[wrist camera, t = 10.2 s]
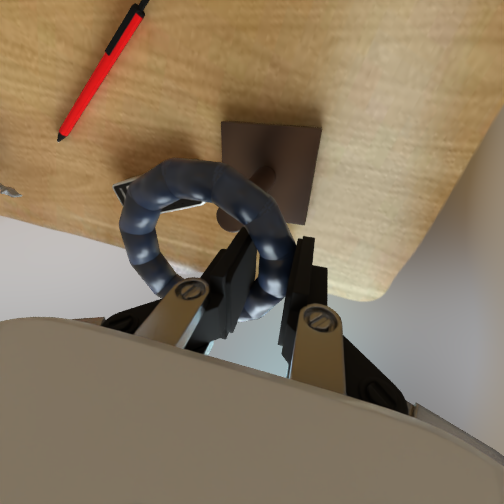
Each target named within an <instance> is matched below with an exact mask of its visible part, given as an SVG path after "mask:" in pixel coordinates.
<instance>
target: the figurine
mask: <svg viewBox="0 0 504 504" xmlns="http://www.w3.org/2000/svg"><path fill="white" fill-rule="evenodd" d="M0 190H1V192H0V193H1V194H6V195H9V196H11V197H21V196H22V195H21V194H19V193H18V192H17V191H16V190H15V189H13V188H11V187H6V186H4V185H2V184H1V183H0Z"/></svg>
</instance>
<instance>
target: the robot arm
mask: <svg viewBox="0 0 504 504" xmlns="http://www.w3.org/2000/svg"><path fill="white" fill-rule="evenodd" d="M314 242H315V238H312V237H306V236H303V239H299V238H298V241H297V245H296V250H295V254H294V259H293V263H292V268H291V272H290V277H289V281H288V286H287V291H286V296H285V303H284V309H283V316H282V321H281V328H280V335H279V341H278V345H281V346H283V348H282V356H283V357H284V358H285V360H286V361H287V362H288V369H287V375H286V378H284V377H281V376H277V375H274V374H270V373H267V372H263V371H260V370H256V369H253V368H249V367H246V366H242V365H239V364H235V363H232V362H228V361H225V360H221V359H218V358H214V357H210V356H208V355H209V353H210V351H211V349H212V347H213V343H214V340H216V339H218V338H222V339H226V338H227V335H228V333H229V332H230V333H233V331H234V329H235V326H236V324H237V322H238V319H239V317H240V314H241V312H242V310H243V307H244V305H245V302H246V300H247V297H248V295H249V292H250V289H251V285H252V283H253V282H254V280H255V272H256V255H257V248H256V246H255V244H254V242H253V241H252V239H251V237H250V235H249V233H248V231H247V229H246V228H245V227H242V228H241V229H240V231H239V232H238V233H237V235H236V236H235V238H234V239H233V241H232V242H231V244H230V245H229V247H228V248H227V249H221V250H220V251H219V252H218V254H217V255H216V257H215V258H214V259H213V261H212V262H211V263H210V265H209V266H208V268H207V269H206V270H205V272H204V273H203V275H202V276H201V277H200V278H195V277H194V278H193V277H192V278H186V279H183V280H181V281H179V282H177V283H176V284H175V285H174V286H173V287H172V288H171V289H170V291H169V292H168V293H167V294H166V296H165V297H164V298H163V299H160V300H156V301H154V302H150V303H147V304H144V305H141V306H138V307H135V308H131V309H128V310H125V311H122V312H119V313H117V314H115V315H112V316H111V317H109V318H108V319H107V320H105V318H104V317H98V318H83V319H63V318H55V317H28V318H17V319H11V320H5V321H1V322H0V504H504V456H502V455H501V454H500V453H499V452H497V451H496V450H494V449H493V448H491V447H489V446H488V445H486V444H484V443H482V442H481V441H479V440H478V439H476V438H474V437H473V436H471V435H469V434H468V433H466V432H464V431H463V430H461V429H459V428H458V427H456V426H454V425H453V424H451V423H449V422H448V421H446V420H444V419H443V418H441V417H439V416H438V415H436V414H434V413H433V412H431V411H429V410H428V409H426V408H424V407H423V406H421V405H419V404H418V403H415V404H414V405H412V404H411V403H409V402H407V401H406V400H405V398H404V396H403V394H402V393H401V391H400V390H399V389H398V388H397V387H396V386H395V385H394V384H393V383H392V382H391V381H390V380H389V379H388V378H387V377H386V376H385V375H384V374H383V373H382V372H381V371H380V370H379V369H378V368H377V367H376V366H375V365H374V364H372V362H370V361H369V360H368V359H367V358H366V357H365V356H364V355H363V354H362V353H361V352H360V351H359V350H358V349H357V348H356V347H355V346H354V345H353V344H352V343H351V342H350V341H349V340H348V339H347V338H345V337H344V335H343V331H342V321H341V318H340V317H339V315H338V314H337V313H336V312H335V311H334V310H333V309H331V308H330V307H328V306H327V275H328V270H327V268H325V267H320V266H314V265H312V262H313V252H314Z"/></svg>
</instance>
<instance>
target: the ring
mask: <svg viewBox="0 0 504 504" xmlns="http://www.w3.org/2000/svg"><path fill="white" fill-rule="evenodd" d="M180 199H189V200H196V201H203V202H210V203H214V204H215V205H217V206H218V207H219V208H221V209H222V210H224V211H225V212H226V213H228V214H229V215H231V216H232V217H233V218H235V219H236V220H238V221H239V222H240V223H242V224H243V225H244V226H245V228H246V229H247V231H248V233H249V235H250V237H251V239H252V241H253V242H254V244H255V246H256V248H257V250H258V252H259V254H260V259H259V274H258V278H257V279H256V280H255V281H254V282H253V283H252V285H251V289H250V292H249V295H248V297H247V300H246V302H245V305H244V307H243V310H242V312H241V314H240V317H239V319H238V322H242V321H249V320H255V319H259V318H261V317H262V316H264V315H265V314H266V313H267V312H268V311H270V310H271V309H272V308H273V307H274V306H275V305H276V304H277V303H279V302H280V301H281V300H282V299H283V298H284V297H285V296H286V291H287V286H288V281H289V277H290V272H291V268H292V263H293V259H294V254H295V250H296V244H295V241H294V239H293V237H292V235H291V233H290V230H289V228H288V226H287V224H286V222H285V220H284V217H283V215H282V213H281V211H280V209H279V207H278V204H277V202H276V201H275V199H274V198H273V197H272V196H271V195H270V194H268V193H267V192H265V191H264V190H263V189H261V188H260V187H259V186H257V185H256V184H255V183H253V182H252V181H250V180H249V179H248V178H246V177H245V176H244V175H242V174H241V173H240V172H238V171H237V170H236V169H234V168H233V167H231V166H230V165H228V164H226V163H222V162H213V161H203V160H194V159H184V158H169V159H167V160H165V161H163V162H162V163H160V164H158V165H157V166H155V167H154V168H152V169H151V170H149V171H148V172H146V173H144V174H143V175H141V176H140V177H138V178H137V179H135V180H134V181H132V183H131V184H130V185H129V187H128V190H127V194H126V198H125V201H124V205H123V209H122V213H121V216H120V220H119V228H120V232H121V235H122V238H123V242H124V245H125V248H126V251H127V255H128V258H129V261H130V263H131V265H132V266H133V268H134V269H135V270H136V271H137V272H138V274H139V275H140V276H141V277H142V279H143V280H144V281H145V282H146V284H147V285H148V286H149V287H150V289H151V290H152V291H153V292H154V294H156V295H157V296H158V297H160V298H162V299H163V298H164V297H165V296H166V294H167V293H168V292H169V291H170V289H171V288H172V287H173V286H174V285H175V284H176V283H177V282H179V281H181V280H183V279H184V278H182V277H181V276H179V275H178V274H176V272H175V271H174V270H173V268H172V267H171V266H170V264H169V263H168V261H167V260H166V259H165V257H164V256H163V255H162V253H161V252H160V249H159V244H158V239H157V234H156V230H155V226H156V223H157V221H158V218H159V216H160V213H161V211H162V208H164V207H166V206H168V205H170V204H172V203H174V202H176V201H178V200H180Z"/></svg>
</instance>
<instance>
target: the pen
mask: <svg viewBox="0 0 504 504" xmlns="http://www.w3.org/2000/svg"><path fill="white" fill-rule="evenodd" d="M148 2H149V0H141V2H140V4H139V5H138V4H136V3H135V4H133V5H132V6H131V8H130V10H129V11H128V13H127V15H126V16H125V18H124V20H123V21H122V23H121V25H120V26H119V28H118V30H117V31H116V33H115V35H114V36H113V38H112V40H111V41H110V43H109V45H108V46H107V48H106V50H105V54H104V55H103V57H102V59H101V60H100V62H99V64H98V65H97V67H96V69H95V70H94V72H93V74H92V75H91V77H90V79H89V80H88V82H87V84H86V85H85V87H84V89H83V90H82V92H81V94H80V96H79V97H78V99H77V101H76V102H75V104H74V106H73V107H72V109H71V111H70V112H69V114H68V116H67V117H66V119H65V121H64V122H63V124H62V126H61V127H60V129H59V133H58V139H57V142H60V141H61V140H63V139H64V138H65V137H67V136H68V135H69V133H70V132H71V130H72V128H73V127H74V125H75V124H76V122H77V121H78V119H79V118H80V116H81V114H82V113H83V111H84V110H85V108H86V107H87V105H88V103H89V102H90V100H91V99H92V97H93V96H94V94H95V93H96V91H97V89H98V88H99V86H100V85H101V83H102V82H103V80H104V78H105V77H106V75H107V74H108V72H109V71H110V69H111V68H112V66H113V64H114V63H115V61H116V60H117V58H118V57H119V55H120V53H121V52H122V50H123V49H124V47H125V46H126V44H127V43H128V41H129V39H130V38H131V36H132V35H133V33H134V32H135V30H136V28H137V27H138V25H139V24H140V22H141V21H142V19H143V18H144V16H145V13H144V11H143V10H144V8H145V7H146V5H147V3H148Z"/></svg>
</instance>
